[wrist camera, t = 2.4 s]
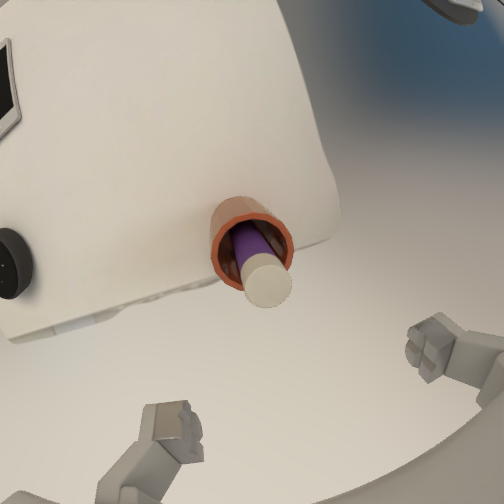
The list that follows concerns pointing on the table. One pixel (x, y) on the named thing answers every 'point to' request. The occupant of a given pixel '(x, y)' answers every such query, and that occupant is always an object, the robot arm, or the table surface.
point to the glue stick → (259, 267)
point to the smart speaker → (13, 264)
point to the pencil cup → (265, 223)
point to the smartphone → (7, 90)
